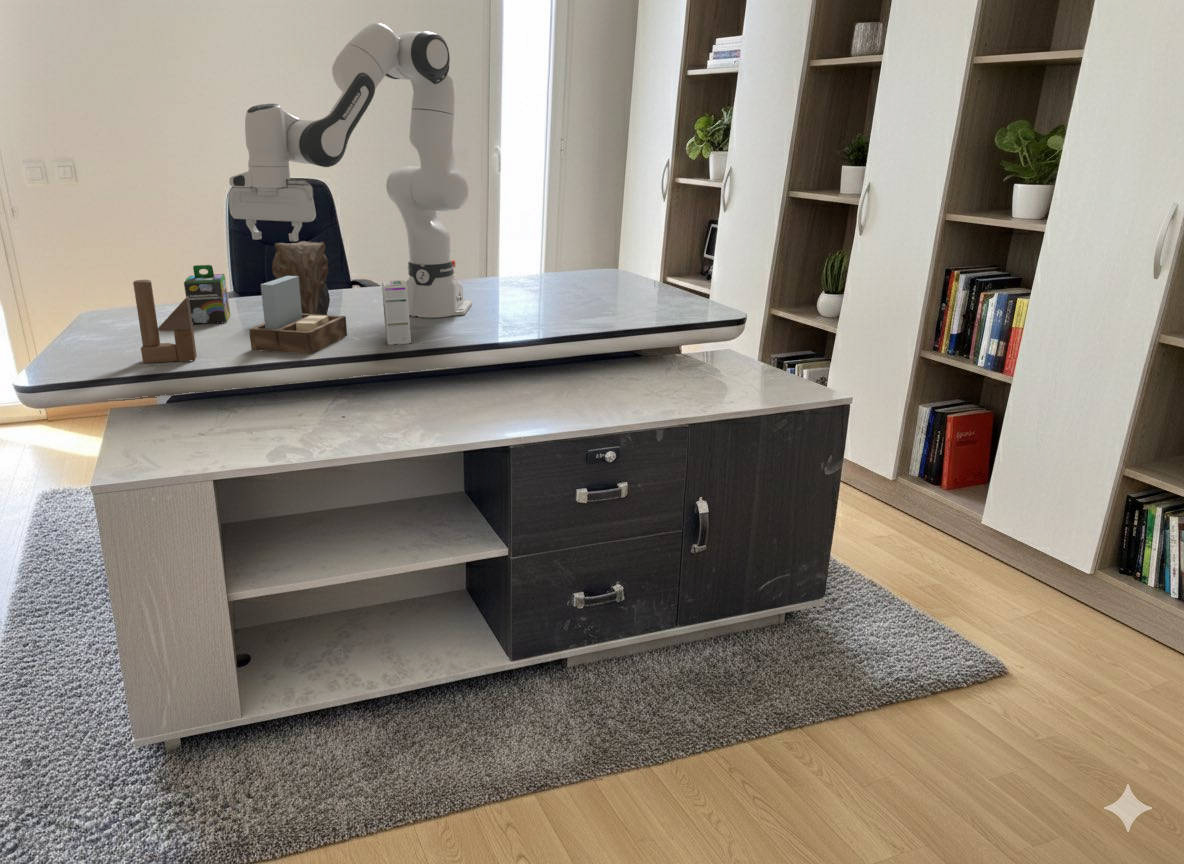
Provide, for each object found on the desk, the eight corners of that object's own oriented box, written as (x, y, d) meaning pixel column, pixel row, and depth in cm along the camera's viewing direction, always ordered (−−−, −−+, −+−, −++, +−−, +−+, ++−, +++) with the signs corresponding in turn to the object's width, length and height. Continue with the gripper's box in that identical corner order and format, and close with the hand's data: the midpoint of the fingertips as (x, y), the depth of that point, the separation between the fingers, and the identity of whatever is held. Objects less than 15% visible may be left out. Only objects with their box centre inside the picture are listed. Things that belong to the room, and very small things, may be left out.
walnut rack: (291, 332, 234) (289, 312, 233) (347, 335, 231) (345, 316, 230) (251, 349, 217) (249, 329, 216) (311, 354, 214) (309, 333, 213)
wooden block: (195, 361, 208) (184, 281, 202) (142, 363, 205) (130, 282, 199) (197, 357, 211) (186, 278, 205) (145, 359, 208) (133, 279, 202)
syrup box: (411, 343, 225) (408, 284, 220) (386, 345, 223) (383, 285, 218) (409, 338, 230) (405, 280, 225) (384, 339, 228) (381, 280, 223)
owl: (272, 320, 247) (264, 244, 240) (301, 310, 258) (294, 238, 252) (312, 324, 243) (305, 247, 236) (340, 314, 254) (334, 240, 248)
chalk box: (230, 316, 251) (224, 261, 246) (226, 323, 243) (219, 266, 238) (194, 317, 249) (187, 262, 244) (188, 325, 241) (181, 267, 236)
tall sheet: (293, 335, 231) (287, 275, 226) (304, 336, 230) (298, 276, 225) (267, 347, 220) (260, 284, 215) (278, 348, 219) (272, 285, 214)
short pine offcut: (311, 323, 226) (310, 315, 226) (329, 323, 226) (328, 315, 225) (296, 331, 219) (295, 322, 218) (315, 331, 218) (314, 323, 218)
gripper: (318, 179, 213) (322, 240, 218) (238, 176, 217) (244, 236, 222) (304, 181, 207) (309, 243, 212) (222, 178, 211) (229, 239, 216)
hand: (275, 240), depth 217 cm, fingers open, 8 cm apart
